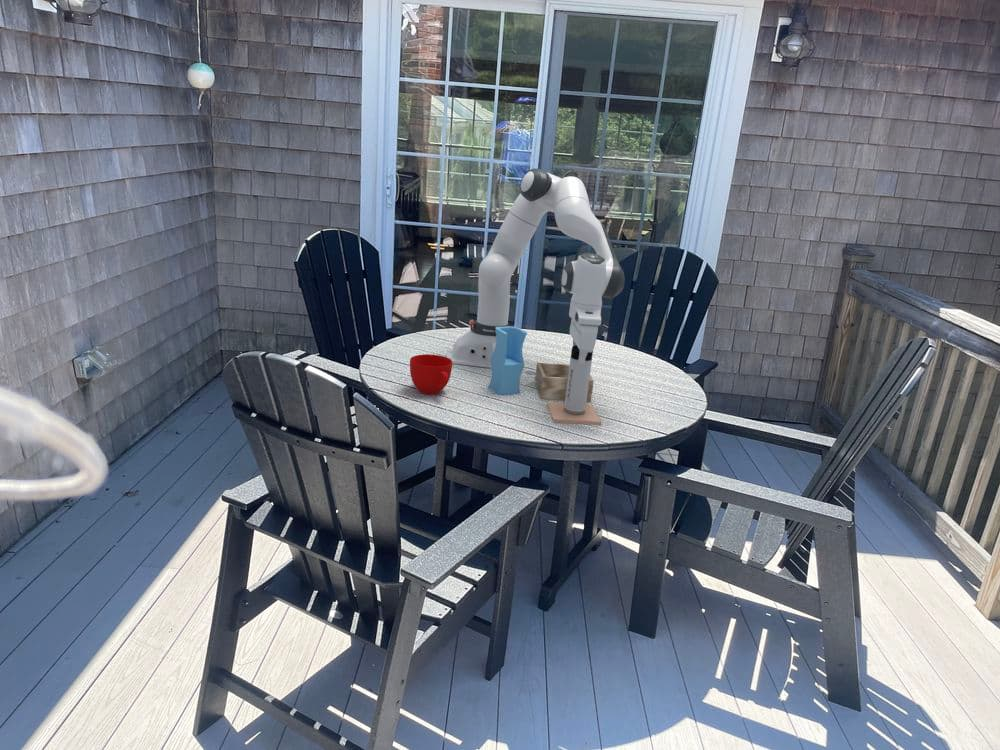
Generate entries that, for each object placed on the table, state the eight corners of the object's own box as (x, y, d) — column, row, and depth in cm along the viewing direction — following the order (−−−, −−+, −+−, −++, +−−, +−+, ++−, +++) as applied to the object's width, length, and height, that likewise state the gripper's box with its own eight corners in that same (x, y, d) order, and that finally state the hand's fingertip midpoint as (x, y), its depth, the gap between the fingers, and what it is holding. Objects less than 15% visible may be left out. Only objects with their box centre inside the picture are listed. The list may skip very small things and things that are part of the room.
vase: (499, 395, 227) (505, 333, 221) (488, 387, 233) (493, 326, 227) (521, 393, 230) (527, 332, 224) (509, 385, 237) (515, 326, 231)
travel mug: (583, 408, 219) (592, 344, 213) (585, 416, 213) (594, 350, 207) (563, 406, 219) (571, 342, 213) (564, 414, 213) (572, 348, 207)
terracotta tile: (553, 422, 208) (553, 419, 208) (546, 405, 222) (547, 402, 221) (601, 425, 210) (601, 421, 209) (591, 408, 223) (592, 404, 223)
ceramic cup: (425, 404, 213) (427, 372, 210) (401, 386, 226) (402, 355, 223) (464, 400, 219) (466, 368, 216) (438, 382, 233) (440, 352, 230)
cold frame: (540, 398, 227) (543, 377, 225) (534, 382, 242) (536, 362, 240) (590, 401, 229) (593, 380, 227) (581, 385, 244) (584, 365, 242)
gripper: (568, 303, 215) (562, 347, 220) (580, 319, 196) (573, 368, 200) (589, 305, 216) (582, 349, 220) (602, 321, 197) (595, 369, 201)
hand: (578, 358), depth 210 cm, fingers open, 8 cm apart
